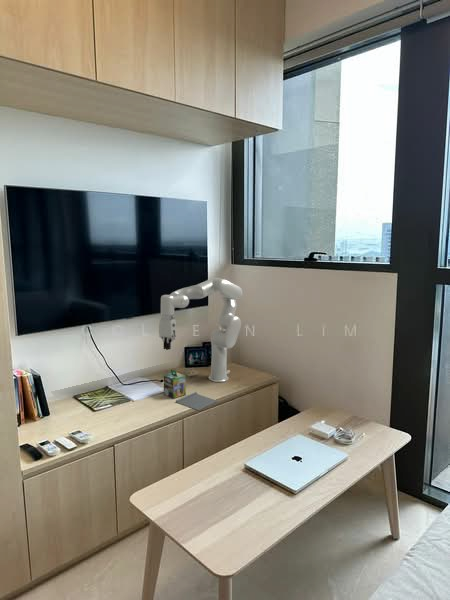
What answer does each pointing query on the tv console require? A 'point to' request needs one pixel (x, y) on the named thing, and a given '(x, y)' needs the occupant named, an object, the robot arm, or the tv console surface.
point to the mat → (196, 401)
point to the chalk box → (174, 384)
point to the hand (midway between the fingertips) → (167, 348)
